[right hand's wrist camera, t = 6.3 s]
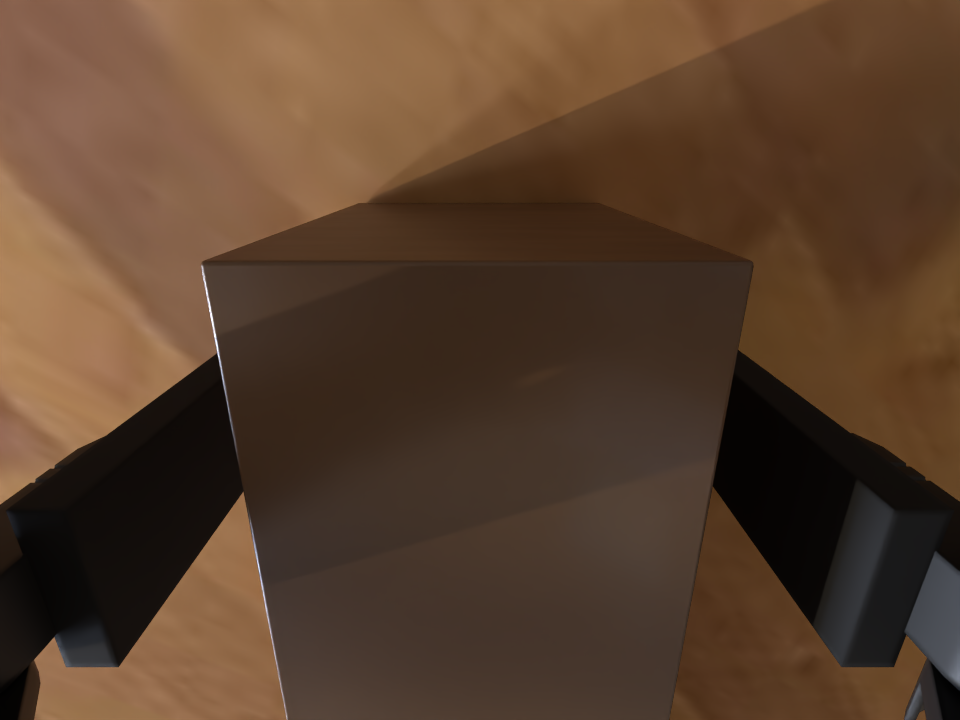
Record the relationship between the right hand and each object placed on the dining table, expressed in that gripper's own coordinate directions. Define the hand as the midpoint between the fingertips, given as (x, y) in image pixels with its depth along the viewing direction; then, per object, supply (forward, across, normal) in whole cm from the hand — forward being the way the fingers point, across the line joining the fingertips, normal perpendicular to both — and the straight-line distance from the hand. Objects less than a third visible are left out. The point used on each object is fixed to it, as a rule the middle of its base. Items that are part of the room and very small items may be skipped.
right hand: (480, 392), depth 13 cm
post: (+1, 0, -28) cm, 28 cm away
